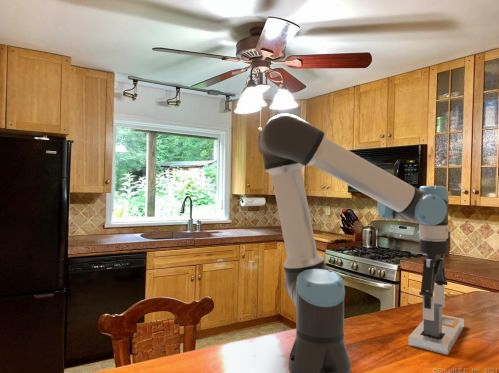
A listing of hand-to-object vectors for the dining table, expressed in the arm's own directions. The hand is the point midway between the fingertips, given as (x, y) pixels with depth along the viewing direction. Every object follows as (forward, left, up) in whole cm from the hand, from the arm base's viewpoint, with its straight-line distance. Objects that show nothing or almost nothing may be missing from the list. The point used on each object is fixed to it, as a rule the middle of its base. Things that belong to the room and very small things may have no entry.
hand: (434, 312), depth 108 cm
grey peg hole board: (0, +7, -9) cm, 11 cm away
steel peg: (0, 0, -9) cm, 9 cm away
